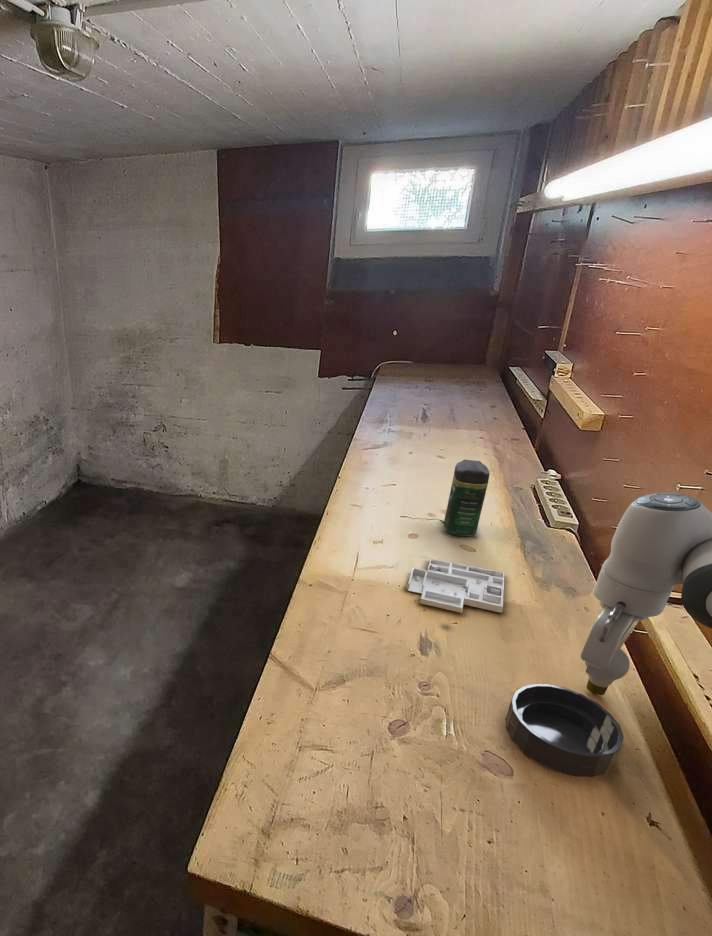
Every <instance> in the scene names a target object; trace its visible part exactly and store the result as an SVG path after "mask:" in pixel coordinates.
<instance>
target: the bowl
mask: <svg viewBox="0 0 712 936" xmlns="http://www.w3.org/2000/svg"><path fill="white" fill-rule="evenodd" d="M504 720H505V727H506V729H505V730H506V731H507V733H508V735H509V737H510V739H511V740H512V742H513V743H514V744H515V746H517V747H518V748H519V749H520V751H521V752H522V753H523V754H525V755H526V756H527V757H529V758H530V759H532V760H533V761H535V762H536V763H538V764H539V765H541V766H544V767H546V768H548V769H550V770H552V771H554V772H557V773H559V774H563V775H568V776H571V777H575V778H595V777H599V776H603V775H605V774H606V773H608V772H609V771H610V770H612V768H613V767H614V765H615V762H616V760H617V758H618V757H619V754H620V751H621V750H622V747H623V744H624V743H623V742H624V738H625V736H624V733H623V730H622V727H621V725H620V723H619V722H618V721H617V720H616V718H615V717H614V716H613V714H611V712H610V711H608V710H607V709H606V708H605V707H603V706H602V705H601V704H599V703H598V702H597V701H595V700H593V699H591V698H590V697H588V696H586V695H585V694H583V693H580V692H578V691H575V690H573V689H570V688H568V687H563V686H560V685H555V684H551V683H550V684H549V683H531V684H527V685H522V686H521V687H520V688H519V689H517V690H516V691H514V693H513V695H512V698H511V699H510V704H509V706H508V710H507V713H506V717H505V719H504Z"/></svg>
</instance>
